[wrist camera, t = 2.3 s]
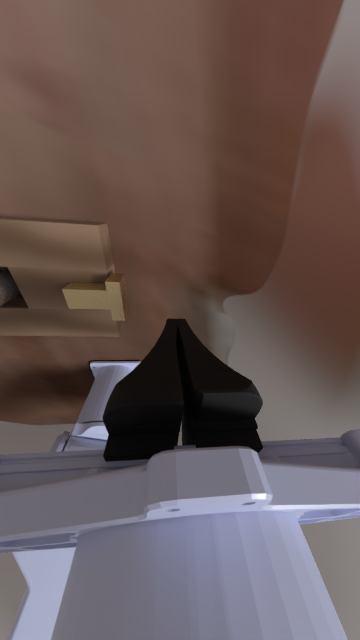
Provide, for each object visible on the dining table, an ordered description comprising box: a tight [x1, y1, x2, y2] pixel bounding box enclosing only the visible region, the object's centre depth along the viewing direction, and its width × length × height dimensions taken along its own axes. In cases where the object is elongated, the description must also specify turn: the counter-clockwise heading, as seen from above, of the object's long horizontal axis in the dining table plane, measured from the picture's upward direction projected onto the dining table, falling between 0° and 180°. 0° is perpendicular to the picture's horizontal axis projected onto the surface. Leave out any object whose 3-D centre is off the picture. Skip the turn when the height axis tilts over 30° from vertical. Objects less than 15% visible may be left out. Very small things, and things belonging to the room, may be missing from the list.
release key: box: [62, 273, 129, 321], centre depth 16 cm, size 4×5×2 cm
